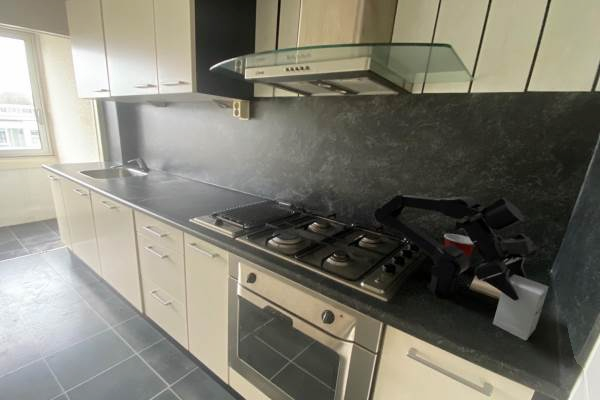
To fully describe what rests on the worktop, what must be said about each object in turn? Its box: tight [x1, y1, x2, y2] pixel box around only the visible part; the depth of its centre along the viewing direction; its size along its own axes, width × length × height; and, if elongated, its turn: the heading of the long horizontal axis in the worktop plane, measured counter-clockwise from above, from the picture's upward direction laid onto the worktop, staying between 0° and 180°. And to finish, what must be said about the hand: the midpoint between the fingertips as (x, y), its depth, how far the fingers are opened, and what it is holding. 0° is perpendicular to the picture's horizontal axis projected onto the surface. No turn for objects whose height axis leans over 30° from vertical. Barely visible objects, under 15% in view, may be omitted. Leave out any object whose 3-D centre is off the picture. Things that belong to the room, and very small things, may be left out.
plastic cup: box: [443, 233, 476, 258], centre depth 100 cm, size 11×11×12 cm
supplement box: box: [492, 274, 549, 341], centre depth 69 cm, size 7×7×13 cm
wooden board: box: [469, 274, 501, 301], centre depth 88 cm, size 15×15×1 cm
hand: (522, 294), depth 68 cm, fingers open, 9 cm apart
